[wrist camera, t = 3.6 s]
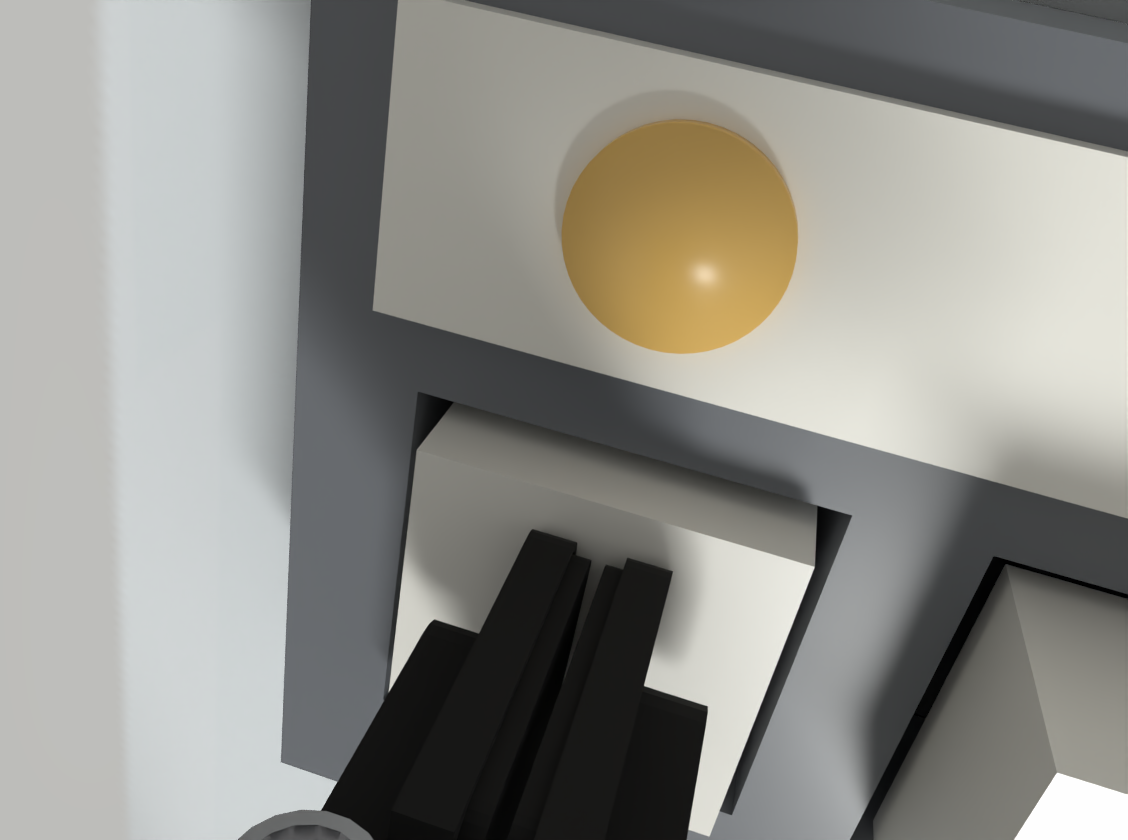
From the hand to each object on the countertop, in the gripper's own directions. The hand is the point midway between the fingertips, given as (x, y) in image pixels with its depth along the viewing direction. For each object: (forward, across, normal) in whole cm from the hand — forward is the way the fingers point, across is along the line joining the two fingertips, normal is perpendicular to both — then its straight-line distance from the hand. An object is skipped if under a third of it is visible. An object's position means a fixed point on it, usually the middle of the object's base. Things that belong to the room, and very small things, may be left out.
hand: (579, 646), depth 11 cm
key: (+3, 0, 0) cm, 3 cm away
